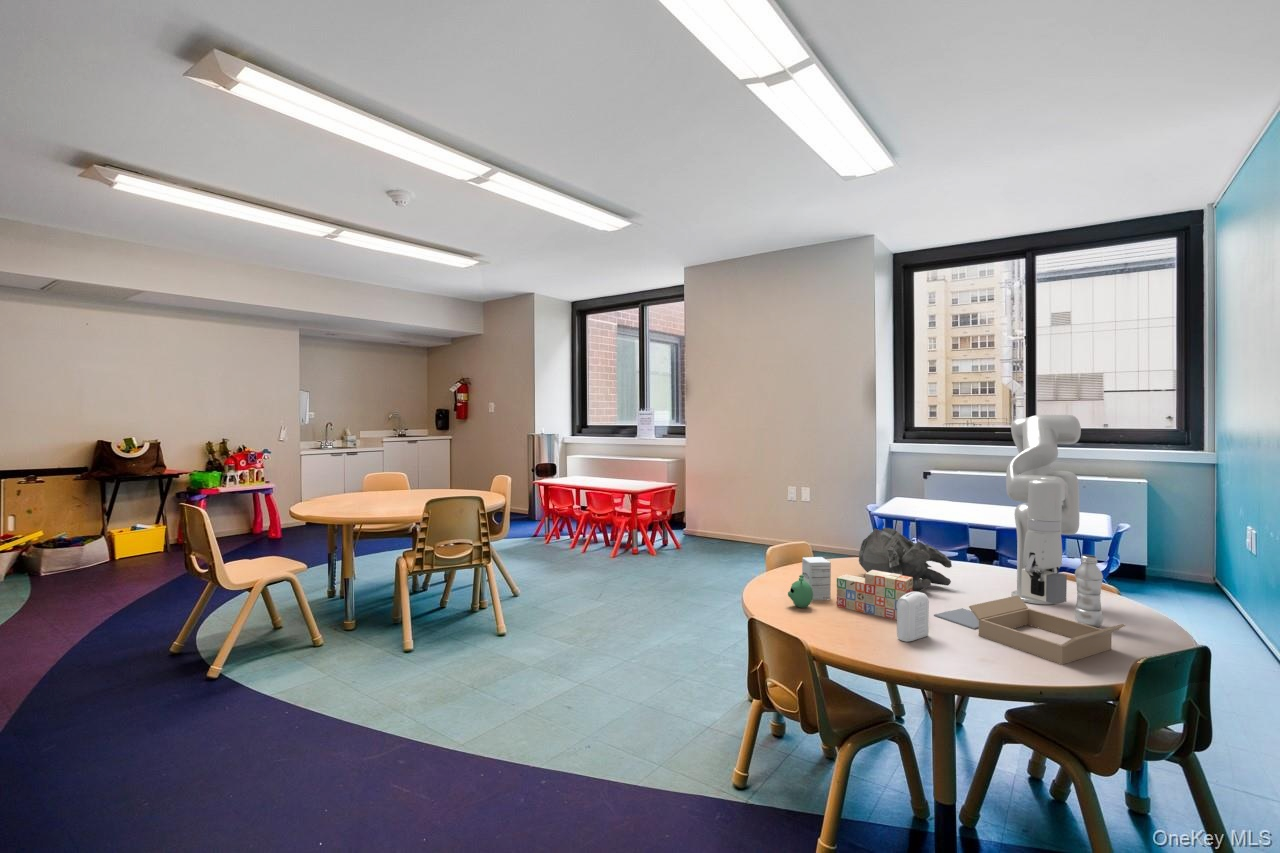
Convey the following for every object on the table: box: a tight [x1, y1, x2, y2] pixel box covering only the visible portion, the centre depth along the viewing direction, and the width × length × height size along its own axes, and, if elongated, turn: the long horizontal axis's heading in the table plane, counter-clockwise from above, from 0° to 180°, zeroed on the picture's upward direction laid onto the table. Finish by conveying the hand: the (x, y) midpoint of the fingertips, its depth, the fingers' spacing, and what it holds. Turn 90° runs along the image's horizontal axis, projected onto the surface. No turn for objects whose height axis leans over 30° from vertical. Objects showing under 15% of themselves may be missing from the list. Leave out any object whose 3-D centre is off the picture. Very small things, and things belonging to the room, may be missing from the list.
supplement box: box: [801, 556, 832, 601], centre depth 203 cm, size 7×7×13 cm
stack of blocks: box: [836, 570, 914, 621], centre depth 188 cm, size 21×6×12 cm, turn 47°
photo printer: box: [896, 591, 930, 643], centre depth 166 cm, size 10×4×12 cm, turn 123°
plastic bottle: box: [1074, 554, 1104, 628], centre depth 175 cm, size 6×7×20 cm
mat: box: [933, 608, 979, 630], centre depth 181 cm, size 13×13×1 cm
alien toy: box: [787, 574, 813, 609], centre depth 192 cm, size 7×8×10 cm
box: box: [1021, 569, 1068, 605], centre depth 162 cm, size 4×9×7 cm, turn 26°
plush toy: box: [858, 527, 953, 592], centre depth 220 cm, size 27×26×20 cm
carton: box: [968, 595, 1126, 665], centre depth 162 cm, size 22×28×8 cm
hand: (1043, 592), depth 163 cm, fingers closed on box, 4 cm apart
